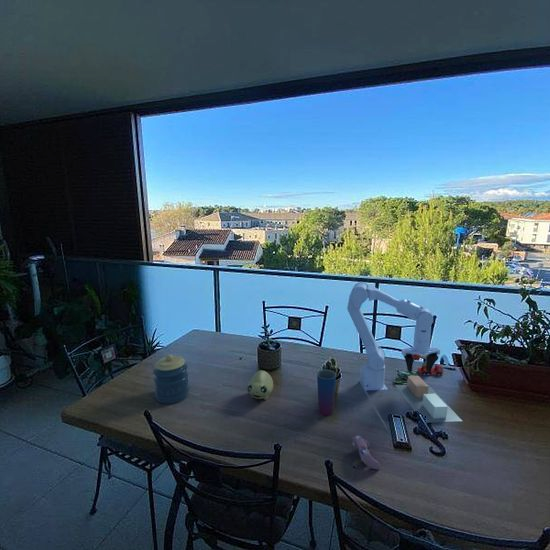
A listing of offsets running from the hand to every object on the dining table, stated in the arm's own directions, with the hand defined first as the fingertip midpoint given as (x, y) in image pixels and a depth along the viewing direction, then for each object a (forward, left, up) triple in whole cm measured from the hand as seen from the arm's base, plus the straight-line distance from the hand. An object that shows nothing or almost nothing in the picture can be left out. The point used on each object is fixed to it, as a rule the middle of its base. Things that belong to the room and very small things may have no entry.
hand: (418, 371), depth 129 cm
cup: (-39, -10, -10) cm, 42 cm away
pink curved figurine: (-32, -33, -10) cm, 47 cm away
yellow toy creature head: (-63, 0, -10) cm, 64 cm away
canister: (-98, +4, -10) cm, 99 cm away
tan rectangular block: (0, 0, -9) cm, 9 cm away
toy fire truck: (+11, +14, -10) cm, 20 cm away
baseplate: (0, -7, -9) cm, 12 cm away
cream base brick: (0, -13, -9) cm, 16 cm away
